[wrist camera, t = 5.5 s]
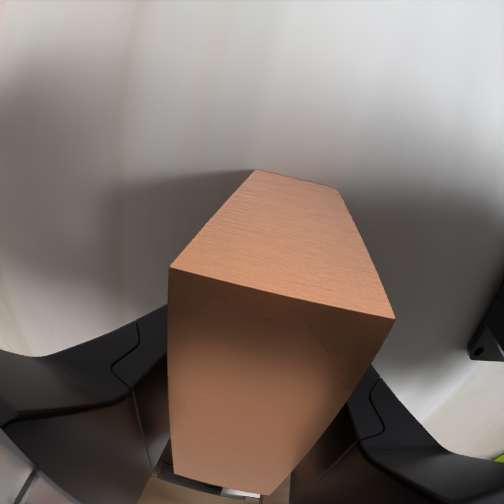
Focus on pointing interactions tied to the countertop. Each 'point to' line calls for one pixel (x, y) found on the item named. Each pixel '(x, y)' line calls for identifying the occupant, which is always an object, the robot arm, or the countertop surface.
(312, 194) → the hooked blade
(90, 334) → the countertop surface
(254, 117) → the countertop surface
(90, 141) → the countertop surface
